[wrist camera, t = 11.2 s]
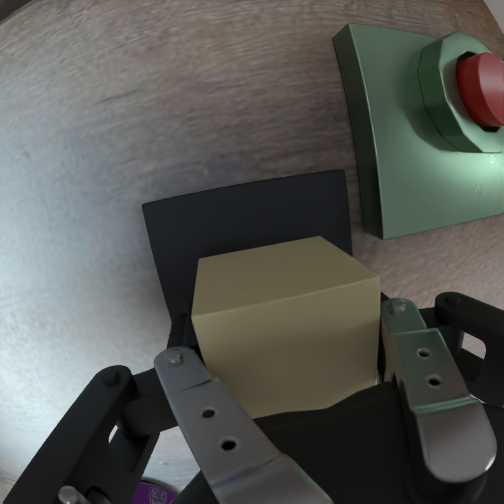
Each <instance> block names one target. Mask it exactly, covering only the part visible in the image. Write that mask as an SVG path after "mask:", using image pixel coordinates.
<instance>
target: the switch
mask: <svg viewBox="0 0 504 504" xmlns="http://www.w3.org/2000/svg"><path fill="white" fill-rule="evenodd" d="M456 79H457V84H458V88H459V93H460V98H461V100H462V102H463V104H464V106H465V107H466V109H467V111H468V113H469V115H470V116H471V118H472V119H473V120H474V121H475V122H477V123H478V124H479V125H481V126H484V127H504V63H503V62H502V61H501V60H500V59H499V58H498V57H497V56H496V55H494V54H492V53H489V52H484V53H480V54H477V55H473V56H470V57H467V58H464V59H462V60H461V61H460V62H459V64H458V66H457V69H456Z"/></svg>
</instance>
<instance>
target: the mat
mask: <svg viewBox="0 0 504 504" xmlns="http://www.w3.org/2000/svg"><path fill="white" fill-rule="evenodd" d="M142 209H143V214H144V219H145V223H146V227H147V232H148V236H149V240H150V244H151V249H152V253H153V257H154V261H155V264H156V268H157V272H158V276H159V279H160V283H161V287H162V290H163V294H164V297H165V301H166V304H167V308H168V311H169V314H170V318H171V321H172V322H173V320H174V319H175V318H176V316H177V315H178V314H181V313H187V312H188V305H189V300H193V299H194V291H195V284H196V276H197V269H198V262H199V259H200V258H205V257H210V256H216V255H221V254H226V253H231V252H237V251H242V250H247V249H253V248H258V247H263V246H268V245H274V244H279V243H284V242H290V241H295V240H300V239H306V238H311V237H316V236H321V237H322V238H324V239H325V240H327V241H328V242H330V243H331V244H333V245H335V246H336V247H338V248H339V249H341V250H342V251H344V252H345V253H347V254H348V255H350V256H351V257H352V242H351V229H350V217H349V207H348V197H347V188H346V180H345V172H344V170H333V171H325V172H317V173H309V174H302V175H295V176H288V177H281V178H275V179H268V180H262V181H256V182H250V183H244V184H238V185H233V186H227V187H222V188H216V189H211V190H206V191H201V192H196V193H191V194H186V195H181V196H176V197H171V198H167V199H162V200H158V201H153V202H149V203H145V204H143V205H142Z"/></svg>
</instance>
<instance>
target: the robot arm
mask: <svg viewBox="0 0 504 504" xmlns="http://www.w3.org/2000/svg"><path fill="white" fill-rule="evenodd" d="M192 307H193V300H189V305H188V312H187V313H181V314H178V315H177V316H176V318H175V319H174V320H173V322H172V326H171V330H170V335H169V339H168V344H167V349H166V350H164V351H162V352H160V353H159V354H158V355H157V356H156V357H155V359H154V368H152V369H150V370H148V371H145V372H142V373H139V374H135V375H132V373H131V371H130V369H129V368H128V367H126V366H122V365H115V366H110V367H107V368H105V369H103V370H101V371H99V372H98V373H97V374H96V375H95V376H94V377H93V379H92V380H91V381H90V382H89V384H88V385H87V386H86V388H85V389H84V390H83V391H82V393H81V394H80V395H79V397H78V398H77V399H76V401H75V402H74V403H73V404H72V406H71V407H70V408H69V410H68V411H67V412H66V414H65V415H64V416H63V418H62V419H61V420H60V422H59V423H58V424H57V426H56V427H55V428H54V430H53V431H52V432H51V434H50V435H49V437H48V438H47V439H46V441H45V442H44V443H43V445H42V446H41V448H40V449H39V450H38V452H37V453H36V455H35V456H34V457H33V459H32V460H31V462H30V463H29V464H28V466H27V467H26V469H25V470H24V472H23V473H22V475H21V476H20V477H19V479H18V480H17V482H16V483H15V485H14V486H13V488H12V489H11V491H10V492H9V494H8V495H7V497H6V498H5V500H4V502H3V504H130V503H131V501H132V499H133V496H134V494H135V492H136V489H137V487H138V485H139V482H140V480H141V478H142V475H143V473H144V471H145V468H146V466H147V464H148V461H149V459H150V457H151V454H152V452H153V450H154V447H155V445H156V443H157V440H158V438H159V435H160V432H161V431H164V430H167V429H170V428H173V427H176V426H179V427H180V429H181V431H182V433H183V435H184V438H185V440H186V442H187V444H188V446H189V448H190V450H191V452H192V454H193V456H194V458H195V460H196V462H197V463H198V465H199V467H200V469H201V470H200V471H199V472H198V474H197V475H196V476H195V477H194V478H193V479H192V481H191V482H190V483H189V484H188V485H187V486H186V487H185V488H184V490H183V491H182V492H181V493H180V494H179V495H178V496H177V497H176V498H175V499H174V501H173V502H172V503H171V504H504V311H503V310H501V309H499V308H496V307H494V306H491V305H489V304H486V303H484V302H481V301H479V300H476V299H474V298H471V297H469V296H466V295H464V294H461V293H457V292H444V293H441V294H439V295H437V296H436V298H435V307H431V308H424V309H417V307H416V305H415V304H414V303H413V302H412V301H410V300H407V299H402V298H393V299H390V298H388V297H387V296H386V295H385V294H383V293H382V292H381V295H380V327H379V345H378V359H377V370H376V380H377V385H374V386H372V387H369V388H366V389H363V390H360V391H357V392H356V393H354V394H352V395H350V396H348V397H347V398H345V399H343V400H341V401H339V402H338V403H336V404H334V405H332V406H330V407H328V408H325V409H318V410H306V411H290V412H282V413H278V414H273V415H269V416H264V417H259V418H254V419H251V417H250V416H249V415H248V414H247V412H246V411H245V410H244V409H243V407H242V406H241V405H240V404H239V402H238V401H237V400H236V398H235V397H234V396H233V395H232V393H231V392H230V391H229V389H228V388H227V387H226V385H225V384H224V383H223V381H222V380H221V379H220V378H219V377H215V378H213V377H212V376H211V375H210V373H209V372H208V370H207V369H206V367H205V364H204V360H203V357H202V354H201V351H200V347H199V344H198V340H197V337H196V333H195V330H194V326H193V323H192V319H191V315H192ZM465 332H466V333H468V334H470V335H472V336H474V337H476V338H478V339H480V340H482V341H483V342H484V344H485V346H486V354H485V358H484V359H482V358H480V357H478V356H476V355H474V354H472V353H471V352H469V351H467V350H465V349H463V348H461V347H462V342H463V338H464V333H465ZM469 393H470V394H472V395H473V396H475V397H477V398H478V399H480V400H481V401H483V402H484V403H481V402H480V401H479V400H478V399H477V398H472V397H471V396H470V394H469ZM485 403H486V404H485ZM115 425H116V426H117V427H118V429H117V431H116V432H115V434H114V436H113V438H112V440H111V441H110V443H109V436H110V433H111V432H112V430H113V428H114V426H115Z"/></svg>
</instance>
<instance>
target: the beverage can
mask: <svg viewBox="0 0 504 504" xmlns="http://www.w3.org/2000/svg"><path fill="white" fill-rule="evenodd" d="M176 497H177V495H176V494H174V493H173V492H171V491H169V490H166V489H164V488H162V487H160V486H158V485H155V484H151V483H147V482H141V481H140V482H139V485H138V487H137V489H136V492H135V494H134V496H133V499H132V501H131V503H130V504H171V503H172V502H173V501H174V499H175V498H176Z"/></svg>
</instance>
